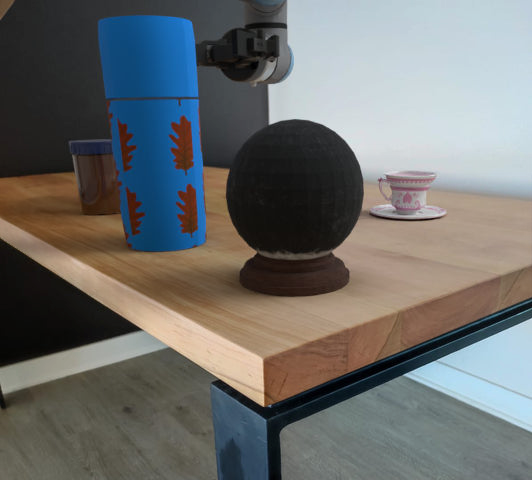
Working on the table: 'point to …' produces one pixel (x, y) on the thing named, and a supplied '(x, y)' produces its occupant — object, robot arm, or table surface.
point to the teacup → (408, 196)
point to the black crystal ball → (294, 207)
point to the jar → (96, 183)
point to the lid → (91, 146)
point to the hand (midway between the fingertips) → (186, 45)
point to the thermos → (155, 129)
